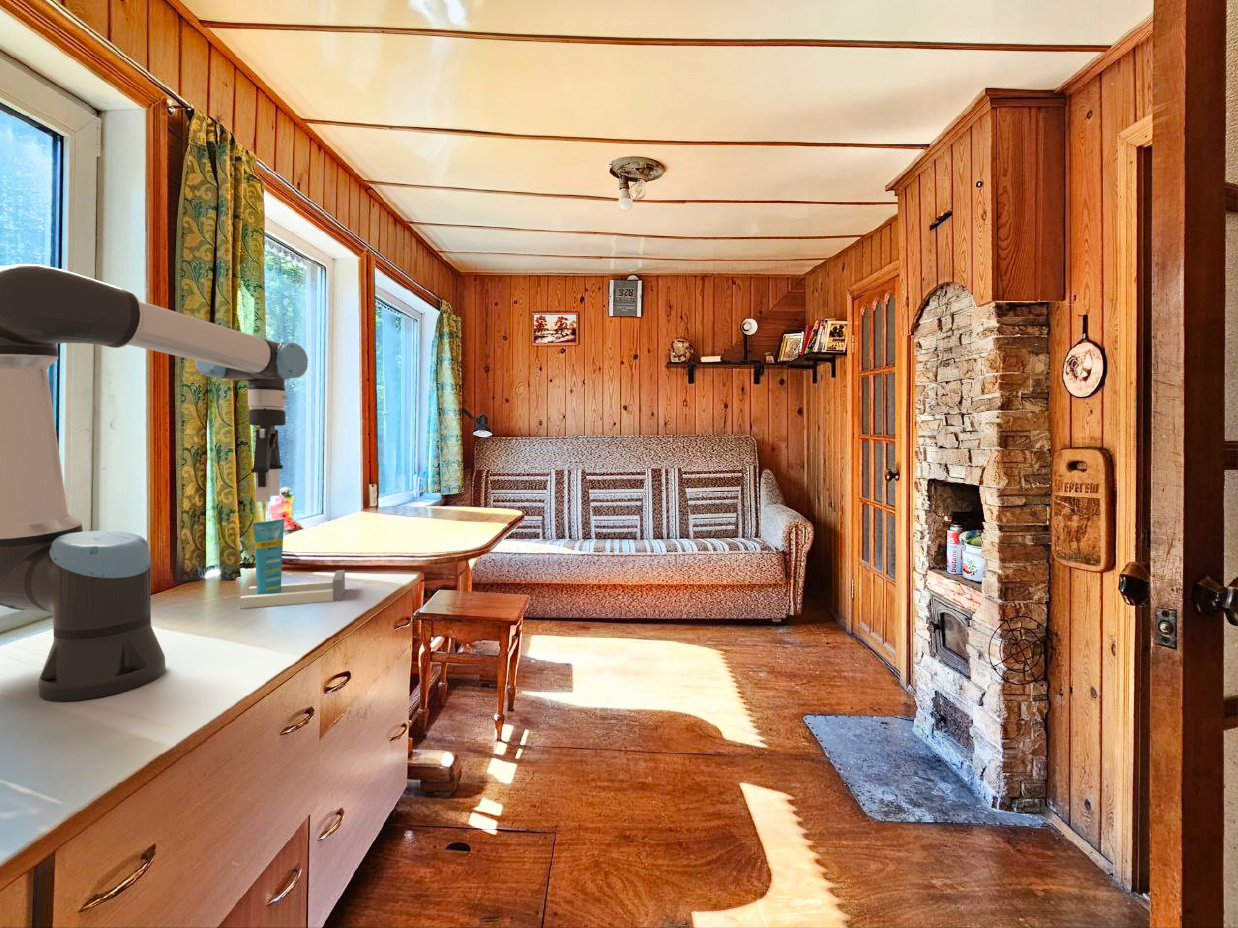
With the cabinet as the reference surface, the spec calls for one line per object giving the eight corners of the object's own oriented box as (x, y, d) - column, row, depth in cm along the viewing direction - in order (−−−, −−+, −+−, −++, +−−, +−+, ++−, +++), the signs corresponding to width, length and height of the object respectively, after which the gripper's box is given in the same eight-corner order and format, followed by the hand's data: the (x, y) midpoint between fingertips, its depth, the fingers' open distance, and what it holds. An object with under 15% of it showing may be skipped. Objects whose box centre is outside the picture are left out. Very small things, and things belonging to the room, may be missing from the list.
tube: (261, 605, 136) (260, 523, 135) (247, 602, 138) (246, 521, 137) (290, 597, 143) (289, 519, 142) (276, 595, 145) (276, 517, 144)
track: (342, 600, 141) (342, 579, 141) (240, 608, 133) (239, 586, 133) (344, 589, 151) (344, 569, 151) (250, 596, 144) (250, 576, 143)
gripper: (276, 407, 128) (277, 503, 129) (292, 411, 151) (293, 493, 152) (236, 406, 125) (238, 504, 126) (258, 410, 149) (260, 493, 149)
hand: (268, 498), depth 139 cm, fingers open, 13 cm apart
